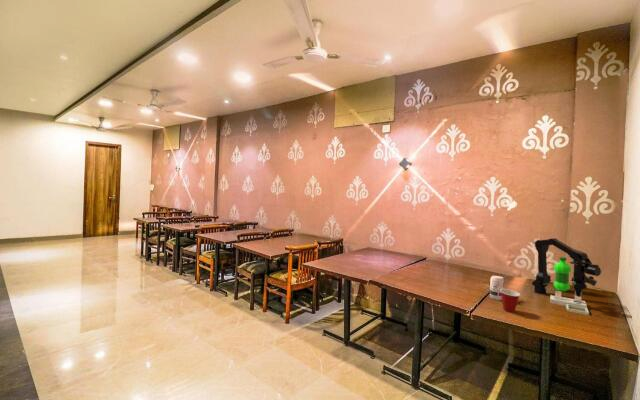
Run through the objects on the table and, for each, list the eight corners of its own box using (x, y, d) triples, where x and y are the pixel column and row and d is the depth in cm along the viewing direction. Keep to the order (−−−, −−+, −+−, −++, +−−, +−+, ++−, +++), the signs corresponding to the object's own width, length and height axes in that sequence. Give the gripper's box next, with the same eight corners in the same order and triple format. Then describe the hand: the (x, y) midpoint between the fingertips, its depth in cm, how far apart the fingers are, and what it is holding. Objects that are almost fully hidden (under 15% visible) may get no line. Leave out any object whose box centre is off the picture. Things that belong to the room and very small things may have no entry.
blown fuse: (575, 301, 196) (575, 290, 196) (574, 300, 199) (575, 289, 198) (581, 302, 194) (581, 291, 194) (580, 301, 197) (581, 290, 196)
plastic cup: (518, 315, 181) (519, 296, 181) (497, 310, 188) (498, 291, 188) (520, 310, 190) (521, 291, 189) (501, 306, 197) (501, 287, 196)
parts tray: (567, 312, 188) (567, 308, 188) (566, 307, 196) (566, 303, 196) (588, 316, 182) (588, 312, 182) (586, 311, 190) (586, 307, 190)
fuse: (555, 302, 202) (555, 291, 202) (554, 300, 205) (555, 290, 204) (560, 303, 200) (561, 292, 200) (560, 301, 203) (561, 291, 203)
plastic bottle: (568, 289, 232) (570, 257, 231) (571, 293, 223) (572, 259, 222) (552, 287, 237) (553, 255, 237) (553, 291, 229) (555, 258, 228)
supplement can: (501, 297, 213) (502, 276, 212) (504, 301, 205) (505, 279, 205) (488, 295, 216) (489, 274, 215) (491, 299, 208) (492, 278, 207)
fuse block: (550, 304, 201) (550, 299, 201) (550, 300, 209) (550, 294, 209) (586, 311, 190) (586, 305, 190) (584, 306, 198) (584, 300, 198)
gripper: (598, 277, 183) (597, 302, 184) (593, 271, 199) (592, 294, 199) (574, 274, 190) (573, 298, 191) (571, 268, 205) (570, 291, 206)
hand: (578, 295), depth 196 cm, fingers closed on blown fuse, 3 cm apart
